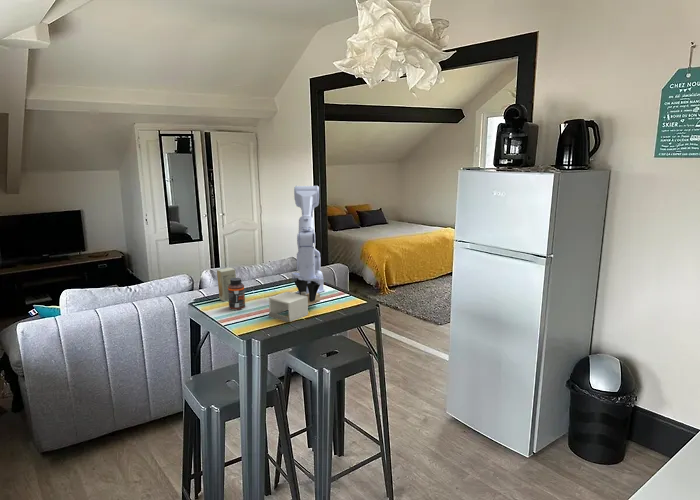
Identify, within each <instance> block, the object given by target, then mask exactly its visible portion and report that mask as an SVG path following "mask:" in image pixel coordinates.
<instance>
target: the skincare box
mask: <svg viewBox="0 0 700 500" xmlns="http://www.w3.org/2000/svg"><path fill="white" fill-rule="evenodd" d="M236 274H237V273H236V269H235V268H233V267H225V268H221V269H217V270H216V275H217V288H218V299H219V300H221V301H222V302H227V301H228V302H229V295H228V286H229V285H230V284H231V283H230V279H232V278H237V275H236Z"/></svg>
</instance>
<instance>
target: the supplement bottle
mask: <svg viewBox="0 0 700 500" xmlns="http://www.w3.org/2000/svg"><path fill="white" fill-rule="evenodd" d="M230 283H231V284H230V285H229V286H228V295H229V300H228V308H229V309H230V310H232V311H233V310H234V311H240V310H242V309H244V308H246V297H245V296H246V295H245V294H246V293H245V284H243V281H242V278H240V277H236V278H232V279H230Z"/></svg>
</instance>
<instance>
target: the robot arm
mask: <svg viewBox="0 0 700 500" xmlns="http://www.w3.org/2000/svg"><path fill="white" fill-rule="evenodd" d="M293 194H294V196H293V197H294V198H293V199H294V203H295V205H296V207H297V208H300V210H301V216H300V217H299V219H298V233H297V234H296V244H297V250H298V251H297V252H296V262H295V263H296V271H297V272H291V279H296V280H294V285H295V286H296V288H297V291H295V294H299V295H301V292H306V294H308V293H309V299H310V301H311V302H312V301H315V298H316V294H317V293H318V294H320V293H323V292H326V289H324V283H325V282H324V275H323V272H322V271H321V270H322V267H321V264H322V263H321V252H320V251H319V250H317V248H316V232H315V220H314V216H313V215H314V211H315V208H316V207H318V206H319V204H320V186H318V185H295V186H294V189H293Z"/></svg>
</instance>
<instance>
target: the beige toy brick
mask: <svg viewBox="0 0 700 500" xmlns="http://www.w3.org/2000/svg"><path fill="white" fill-rule="evenodd" d="M301 295H303V296H307V297H308V307H309V306H312V305H314V304H317V303H320V302H321V294H320V293H317V294H316V298H315V301H312V302H311V301H310V299H309V293H308V294H306V292H301Z"/></svg>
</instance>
